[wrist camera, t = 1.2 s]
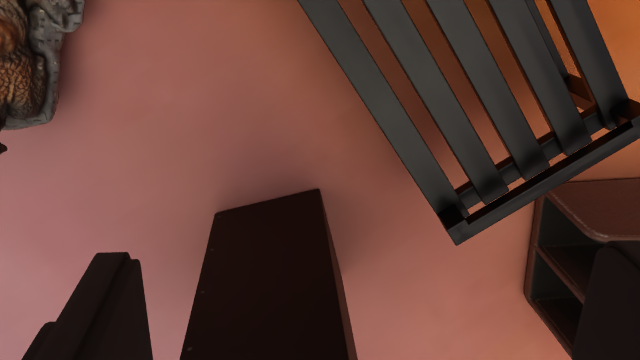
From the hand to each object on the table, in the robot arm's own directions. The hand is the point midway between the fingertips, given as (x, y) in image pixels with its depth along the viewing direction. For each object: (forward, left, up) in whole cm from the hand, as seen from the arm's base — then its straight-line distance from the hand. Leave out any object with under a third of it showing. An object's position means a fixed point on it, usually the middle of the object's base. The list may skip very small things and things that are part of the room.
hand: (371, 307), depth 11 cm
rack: (+2, +8, -26) cm, 28 cm away
